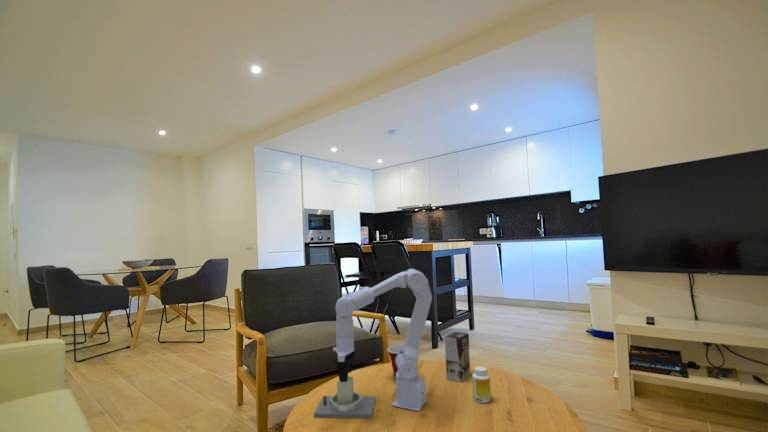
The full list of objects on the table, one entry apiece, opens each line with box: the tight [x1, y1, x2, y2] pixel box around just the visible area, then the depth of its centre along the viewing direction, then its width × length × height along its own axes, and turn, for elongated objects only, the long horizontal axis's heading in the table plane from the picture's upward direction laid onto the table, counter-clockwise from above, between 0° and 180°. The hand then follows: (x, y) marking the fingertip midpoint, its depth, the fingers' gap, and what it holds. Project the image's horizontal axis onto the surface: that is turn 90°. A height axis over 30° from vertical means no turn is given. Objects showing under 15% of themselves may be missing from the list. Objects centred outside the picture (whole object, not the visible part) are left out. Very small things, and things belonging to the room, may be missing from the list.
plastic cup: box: [386, 343, 404, 380], centre depth 136 cm, size 11×11×12 cm
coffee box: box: [444, 331, 471, 383], centre depth 136 cm, size 9×6×16 cm
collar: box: [322, 391, 363, 412], centre depth 113 cm, size 13×10×2 cm
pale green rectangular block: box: [336, 376, 354, 405], centre depth 113 cm, size 4×5×8 cm
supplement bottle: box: [471, 366, 491, 404], centre depth 117 cm, size 6×6×10 cm
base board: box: [313, 395, 377, 419], centre depth 113 cm, size 18×12×1 cm, turn 86°
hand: (345, 376), depth 114 cm, fingers open, 7 cm apart
